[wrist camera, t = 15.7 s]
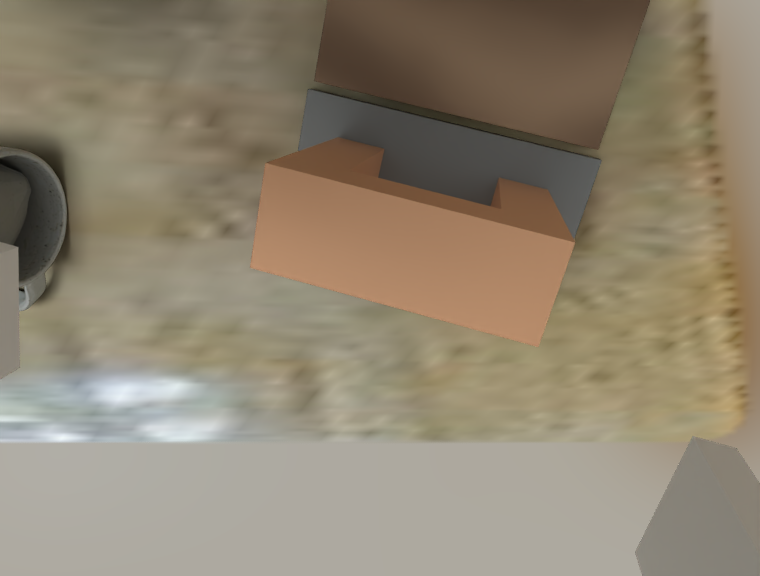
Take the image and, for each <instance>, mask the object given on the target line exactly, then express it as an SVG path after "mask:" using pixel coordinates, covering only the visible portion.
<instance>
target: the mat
mask: <svg viewBox="0 0 760 576" xmlns="http://www.w3.org/2000/svg"><path fill="white" fill-rule="evenodd" d="M337 137H339V138H343V139H347V140H351V141H355V142H359V143H363V144H367V145H371V146H375V147H379V148H383V149H384V153H383V158H382V162H381V167H380V172H379V176H378V178H381V179H385V180H389V181H393V182H397V183H401V184H405V185H409V186H413V187H416V188H420V189H424V190H428V191H432V192H436V193H440V194H444V195H448V196H452V197H456V198H460V199H464V200H467V201H471V202H475V203H479V204H483V205H487V206H491V203H492V199H493V196H494V192H495V189H496V186H497V182H498V179H499V178H503V179H507V180H511V181H515V182H519V183H523V184H527V185H531V186H535V187H539V188H543V189H547V190H548V191H549V193H550V195H551V197H552V199H553V200H554V202H555V204H556V206H557V208H558V210H559V212H560V214H561V216H562V218H563V220H564V222H565V224H566V225H567V227H568V229H569V231H570V233H571V235H572V237H573V239H574V238H575V235H576V232H577V229H578V226H579V224H580V221H581V218H582V215H583V212H584V209H585V207H586V204H587V201H588V198H589V195H590V192H591V190H592V187H593V184H594V181H595V178H596V175H597V173H598V170H599V167H600V164H601V161H602V160H600V159H598V158H593V157H589V156H585V155H581V154H577V153H573V152H569V151H565V150H561V149H556V148H552V147H548V146H544V145H540V144H536V143H532V142H528V141H524V140H519V139H515V138H511V137H507V136H503V135H499V134H495V133H491V132H487V131H482V130H478V129H474V128H470V127H466V126H462V125H458V124H454V123H449V122H445V121H441V120H437V119H433V118H429V117H425V116H421V115H417V114H412V113H408V112H404V111H400V110H396V109H392V108H388V107H384V106H380V105H375V104H371V103H367V102H363V101H359V100H355V99H351V98H347V97H343V96H338V95H334V94H330V93H326V92H322V91H318V90H314V89H308V93H307V99H306V105H305V111H304V117H303V123H302V129H301V135H300V141H299V147H298V151H300V150H303V149H306V148H309V147H312V146H315V145H317V144H320V143H323V142H326V141H329V140H331V139H334V138H337Z"/></svg>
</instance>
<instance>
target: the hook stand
mask: <svg viewBox="0 0 760 576" xmlns="http://www.w3.org/2000/svg"><path fill="white" fill-rule="evenodd" d="M649 3H650V0H328V2H327V8H326V14H325V20H324V26H323V32H322V38H321V44H320V49H319V55H318V61H317V67H316V73H315V79H314V81H316V82H320V83H324V84H328V85H332V86H336V87H341V88H345V89H349V90H353V91H357V92H361V93H365V94H370V95H374V96H378V97H382V98H386V99H390V100H394V101H399V102H403V103H407V104H411V105H415V106H419V107H423V108H427V109H432V110H436V111H440V112H444V113H448V114H452V115H456V116H461V117H465V118H469V119H473V120H477V121H481V122H485V123H490V124H494V125H498V126H502V127H506V128H510V129H514V130H519V131H523V132H527V133H531V134H535V135H539V136H543V137H547V138H552V139H556V140H560V141H564V142H568V143H572V144H576V145H581V146H585V147H589V148H593V149H597V150H598V149H599V146H600V143H601V140H602V137H603V135H604V132H605V129H606V126H607V123H608V120H609V117H610V114H611V112H612V109H613V106H614V103H615V100H616V97H617V94H618V91H619V89H620V86H621V83H622V80H623V77H624V74H625V71H626V69H627V66H628V63H629V60H630V57H631V54H632V51H633V48H634V46H635V43H636V40H637V37H638V34H639V31H640V28H641V26H642V23H643V20H644V17H645V14H646V11H647V8H648V5H649Z"/></svg>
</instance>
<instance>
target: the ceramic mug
mask: <svg viewBox="0 0 760 576" xmlns="http://www.w3.org/2000/svg"><path fill="white" fill-rule="evenodd" d="M66 226H67V205H66V198H65V193H64V190H63V187H62V185H61V182H60V180H59V178H58V177H57V175H56V174H55V172H54V171H53V169H52V168H51V167H50V166H49V165H48V164H47V163H46V162H45V161H44V160H43V159H41V158H40V157H38V156H37V155H35V154H33V153H31V152H29V151H25V150H21V149H16V148H9V147H0V242H2V243H6V244H9V245H13V246H17V247H18V263H19V287H23V286H24V289H25V292H23V291H19V311H24V310H26V309H28V308H29V307H30V306H31V305H32V304H33V303H34V302H35V301H36V300H37V299H38V298H39V297H40V296H41V295H42V294H43V292H44V291H45V288H46V278H45V272H46V271H47V270H48V268H49V267H50V266H51V265H52V263H53V262H54V260H55V259H56V257H57V255H58V253H59V251H60V249H61V246H62V243H63V241H64V237H65V232H66Z"/></svg>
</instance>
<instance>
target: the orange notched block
mask: <svg viewBox="0 0 760 576" xmlns="http://www.w3.org/2000/svg"><path fill="white" fill-rule="evenodd" d="M383 153H384V149H383V148H379V147H375V146H371V145H367V144H363V143H359V142H355V141H351V140H347V139H343V138H339V137H337V138H334V139H331V140H329V141H326V142H323V143H320V144H317V145H315V146H312V147H309V148H306V149H303V150H300V151H298V152H295V153H292V154H289V155H286V156H284V157H281V158H278V159H275V160H272V161H269V162H267V163H265V169H264V176H263V183H262V189H261V196H260V203H259V210H258V217H257V224H256V231H255V237H254V244H253V251H252V258H251V265H250V268H253V269H256V270H260V271H264V272H267V273H271V274H275V275H278V276H282V277H285V278H289V279H293V280H296V281H300V282H304V283H307V284H311V285H315V286H318V287H322V288H325V289H329V290H333V291H336V292H340V293H344V294H347V295H351V296H355V297H358V298H362V299H365V300H369V301H373V302H376V303H380V304H384V305H387V306H391V307H395V308H398V309H402V310H405V311H409V312H413V313H416V314H420V315H424V316H427V317H431V318H435V319H438V320H442V321H445V322H449V323H453V324H456V325H460V326H464V327H467V328H471V329H475V330H478V331H482V332H485V333H489V334H493V335H496V336H500V337H504V338H507V339H511V340H515V341H518V342H522V343H525V344H529V345H533V346H536V347H539V344H540V341H541V338H542V335H543V333H544V330H545V327H546V324H547V321H548V319H549V316H550V313H551V310H552V307H553V304H554V302H555V299H556V296H557V293H558V290H559V288H560V285H561V282H562V279H563V276H564V273H565V271H566V268H567V265H568V262H569V259H570V257H571V254H572V251H573V248H574V245H575V241H574V239H573V237H572V235H571V233H570V231H569V229H568V227H567V225H566V224H565V222H564V220H563V218H562V216H561V214H560V212H559V210H558V208H557V206H556V204H555V202H554V200H553V199H552V197H551V195H550V193H549V191H548V190H547V189H543V188H539V187H535V186H531V185H527V184H523V183H519V182H515V181H511V180H507V179H503V178H499V179H498V182H497V186H496V189H495V192H494V196H493V199H492V203H491V206H487V205H483V204H479V203H475V202H471V201H467V200H464V199H460V198H456V197H452V196H448V195H444V194H440V193H436V192H432V191H428V190H424V189H420V188H416V187H413V186H409V185H405V184H401V183H397V182H393V181H389V180H385V179H381V178H378V176H379V172H380V167H381V162H382V158H383Z"/></svg>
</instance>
